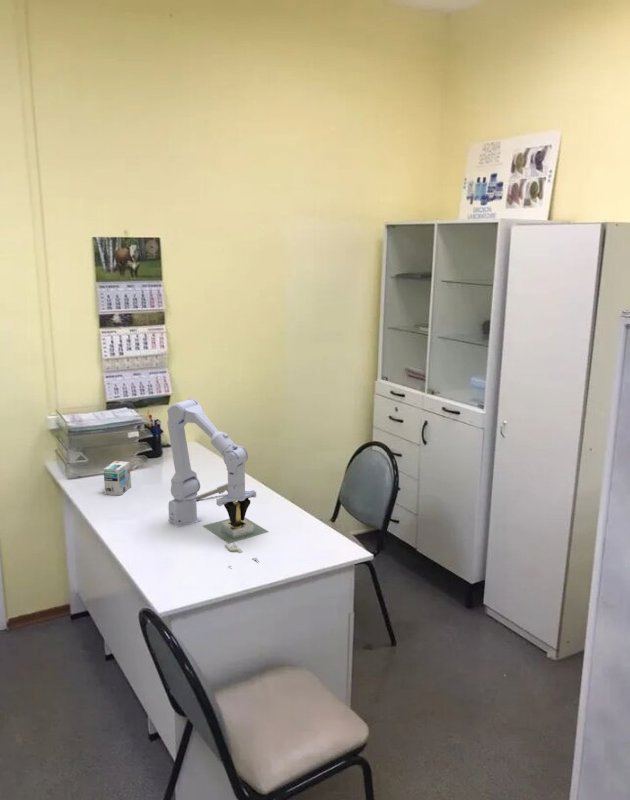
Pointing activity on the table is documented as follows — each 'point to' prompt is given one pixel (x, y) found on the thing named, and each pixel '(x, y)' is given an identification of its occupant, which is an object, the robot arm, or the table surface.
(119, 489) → the light bulb box
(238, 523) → the pin
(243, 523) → the silver square socket
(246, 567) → the table surface
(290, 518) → the table surface
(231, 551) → the pliers
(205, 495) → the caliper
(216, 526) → the mat
